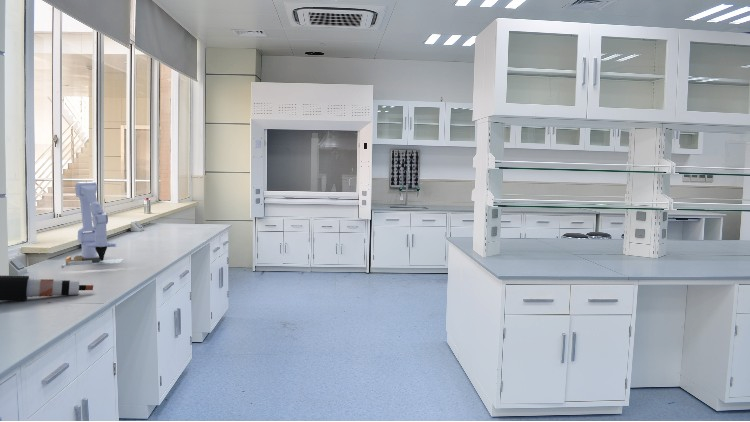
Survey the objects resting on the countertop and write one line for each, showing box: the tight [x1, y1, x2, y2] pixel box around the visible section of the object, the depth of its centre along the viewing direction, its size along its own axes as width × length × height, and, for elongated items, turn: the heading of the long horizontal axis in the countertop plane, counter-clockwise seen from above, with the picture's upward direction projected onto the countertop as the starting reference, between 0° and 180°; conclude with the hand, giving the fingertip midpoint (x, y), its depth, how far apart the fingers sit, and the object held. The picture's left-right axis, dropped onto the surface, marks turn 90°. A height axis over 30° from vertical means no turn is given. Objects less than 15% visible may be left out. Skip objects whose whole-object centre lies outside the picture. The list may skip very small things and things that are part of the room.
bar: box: [82, 256, 100, 263], centre depth 285 cm, size 2×8×2 cm, turn 108°
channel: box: [61, 255, 123, 268], centre depth 285 cm, size 11×28×4 cm, turn 108°
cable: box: [0, 275, 94, 302], centre depth 217 cm, size 10×34×10 cm, turn 116°
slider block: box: [73, 254, 84, 261], centre depth 283 cm, size 3×4×4 cm
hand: (101, 260), depth 286 cm, fingers closed
